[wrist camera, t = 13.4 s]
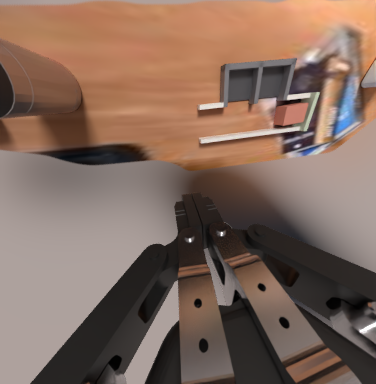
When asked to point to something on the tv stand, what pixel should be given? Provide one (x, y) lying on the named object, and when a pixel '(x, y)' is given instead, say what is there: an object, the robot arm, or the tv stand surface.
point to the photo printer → (370, 77)
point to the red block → (290, 113)
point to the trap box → (259, 92)
